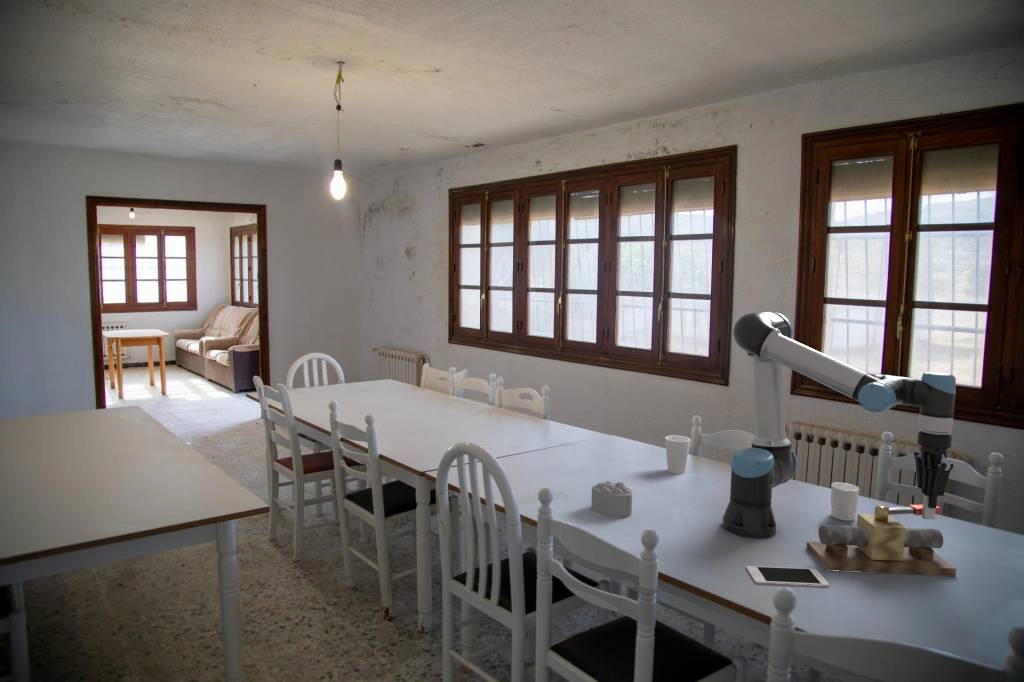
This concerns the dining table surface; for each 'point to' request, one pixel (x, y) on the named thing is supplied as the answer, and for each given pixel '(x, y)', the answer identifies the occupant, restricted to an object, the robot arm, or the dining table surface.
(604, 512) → the lumpy-topped squat cylinder
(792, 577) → the cell phone
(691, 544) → the dining table surface
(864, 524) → the pipe rig
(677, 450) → the foam cup
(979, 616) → the dining table surface
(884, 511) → the valve lever
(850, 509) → the white cup
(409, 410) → the dining table surface
